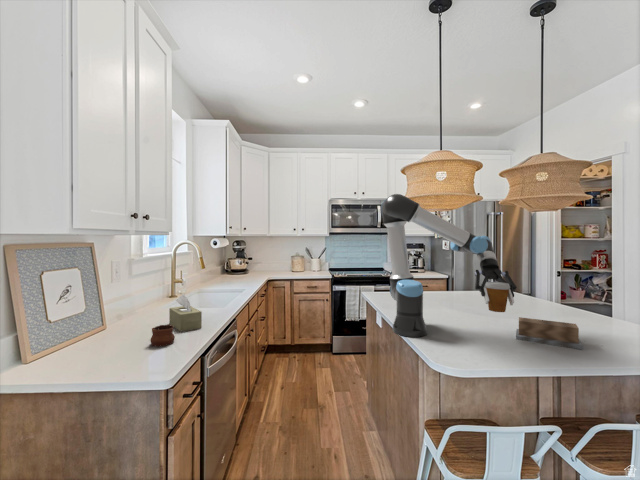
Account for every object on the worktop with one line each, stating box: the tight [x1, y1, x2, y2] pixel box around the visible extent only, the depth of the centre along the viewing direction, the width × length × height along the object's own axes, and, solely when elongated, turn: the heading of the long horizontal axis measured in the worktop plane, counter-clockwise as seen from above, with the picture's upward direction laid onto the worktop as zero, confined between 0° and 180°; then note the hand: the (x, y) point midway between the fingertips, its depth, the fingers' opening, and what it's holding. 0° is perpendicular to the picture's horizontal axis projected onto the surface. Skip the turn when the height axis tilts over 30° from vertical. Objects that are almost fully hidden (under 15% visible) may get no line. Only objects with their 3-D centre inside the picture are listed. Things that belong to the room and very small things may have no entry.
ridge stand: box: [515, 316, 584, 350], centre depth 131 cm, size 22×13×8 cm, turn 56°
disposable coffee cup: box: [484, 281, 510, 313], centre depth 134 cm, size 10×10×12 cm
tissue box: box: [168, 293, 203, 332], centre depth 152 cm, size 19×10×16 cm, turn 40°
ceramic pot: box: [149, 324, 175, 347], centre depth 126 cm, size 18×18×7 cm
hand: (499, 302), depth 131 cm, fingers closed on disposable coffee cup, 9 cm apart
